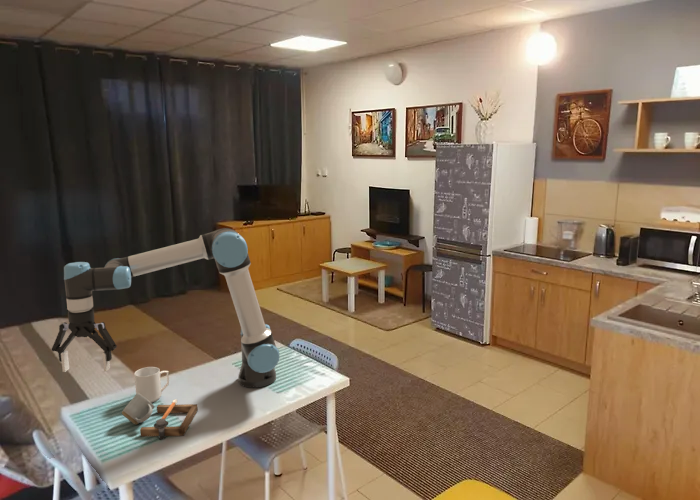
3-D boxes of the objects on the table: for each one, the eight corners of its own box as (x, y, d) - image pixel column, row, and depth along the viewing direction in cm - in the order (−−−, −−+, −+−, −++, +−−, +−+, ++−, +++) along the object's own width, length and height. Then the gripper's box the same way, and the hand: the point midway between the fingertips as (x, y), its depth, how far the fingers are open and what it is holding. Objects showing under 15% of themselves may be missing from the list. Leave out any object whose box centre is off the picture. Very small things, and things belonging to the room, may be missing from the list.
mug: (138, 406, 179) (136, 378, 177) (134, 397, 186) (132, 370, 184) (172, 398, 185) (170, 371, 183) (167, 389, 193) (165, 363, 191)
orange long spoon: (179, 402, 172) (179, 399, 172) (164, 425, 156) (163, 423, 156) (171, 402, 172) (171, 399, 171) (155, 426, 156) (154, 423, 156)
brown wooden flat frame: (197, 410, 176) (197, 404, 176) (183, 435, 160) (183, 428, 159) (158, 411, 176) (158, 404, 175) (140, 436, 159) (140, 429, 159)
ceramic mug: (133, 425, 169) (117, 410, 167) (151, 406, 174) (136, 392, 172) (140, 427, 161) (123, 412, 159) (159, 407, 165) (142, 392, 163)
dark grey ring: (171, 434, 160) (170, 420, 160) (166, 442, 156) (165, 427, 155) (157, 434, 160) (156, 420, 160) (152, 442, 156) (151, 428, 155)
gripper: (123, 305, 164) (128, 365, 168) (48, 306, 163) (55, 365, 167) (113, 312, 156) (119, 374, 160) (35, 313, 156) (42, 375, 159)
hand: (86, 370), depth 164 cm, fingers open, 13 cm apart
